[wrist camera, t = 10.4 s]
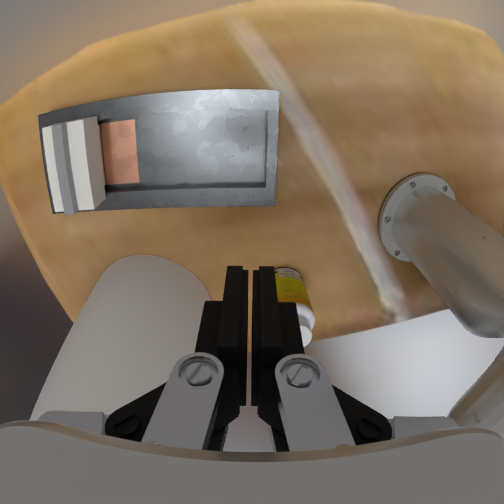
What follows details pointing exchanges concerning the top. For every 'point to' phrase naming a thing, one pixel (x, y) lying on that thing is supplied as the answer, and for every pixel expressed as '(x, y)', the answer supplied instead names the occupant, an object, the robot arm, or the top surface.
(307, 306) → the supplement bottle
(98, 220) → the top surface
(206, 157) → the dark grey tray
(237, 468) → the robot arm
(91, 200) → the slider knob
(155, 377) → the cylinder
